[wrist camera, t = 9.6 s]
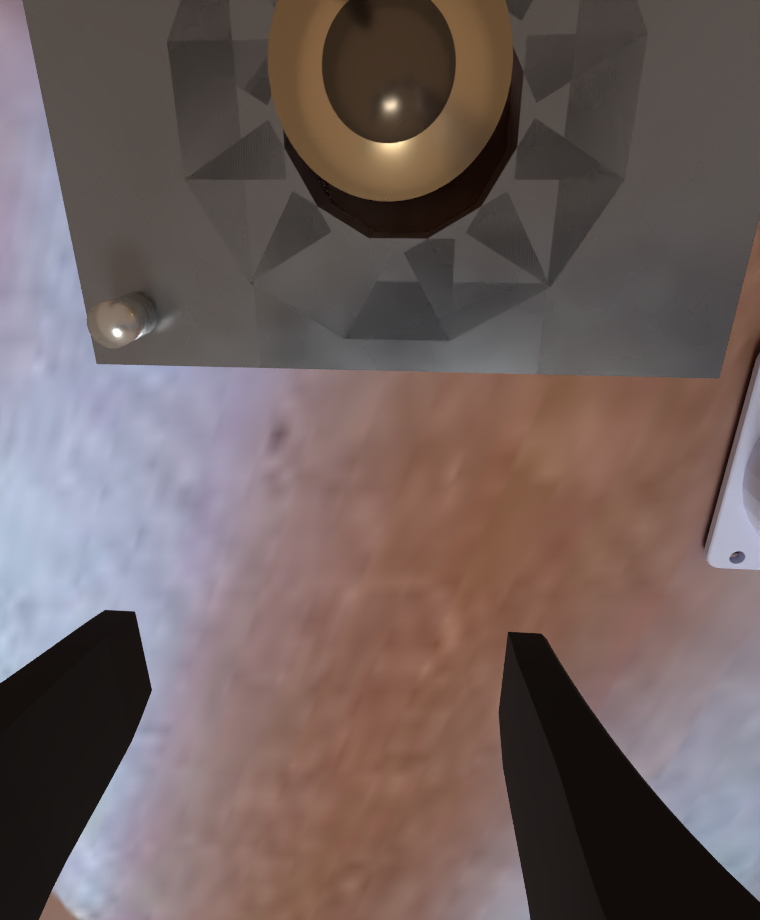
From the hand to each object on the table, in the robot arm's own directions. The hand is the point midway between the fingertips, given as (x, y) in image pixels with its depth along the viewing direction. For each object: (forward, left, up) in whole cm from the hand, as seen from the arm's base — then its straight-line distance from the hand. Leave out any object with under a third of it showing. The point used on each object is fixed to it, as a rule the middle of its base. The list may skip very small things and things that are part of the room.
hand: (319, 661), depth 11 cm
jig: (-1, -10, -10) cm, 14 cm away
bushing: (-1, -10, -10) cm, 15 cm away
